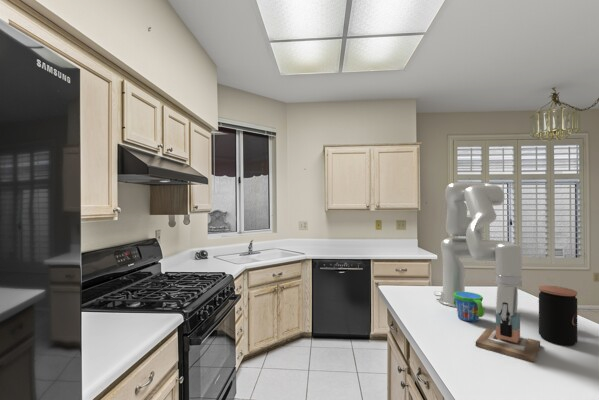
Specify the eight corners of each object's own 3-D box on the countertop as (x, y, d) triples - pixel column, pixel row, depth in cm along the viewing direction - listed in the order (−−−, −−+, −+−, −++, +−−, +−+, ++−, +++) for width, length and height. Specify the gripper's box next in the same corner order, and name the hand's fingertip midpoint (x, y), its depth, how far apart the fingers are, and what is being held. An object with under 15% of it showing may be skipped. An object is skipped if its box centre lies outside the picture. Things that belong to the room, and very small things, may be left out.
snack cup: (446, 312, 139) (446, 289, 139) (469, 312, 139) (469, 289, 139) (466, 326, 123) (466, 300, 123) (492, 326, 124) (492, 300, 124)
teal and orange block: (495, 337, 106) (495, 313, 106) (499, 332, 111) (499, 309, 111) (517, 342, 102) (517, 318, 102) (520, 337, 107) (520, 313, 107)
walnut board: (475, 346, 106) (475, 338, 106) (486, 332, 118) (486, 325, 118) (534, 362, 95) (534, 354, 95) (540, 345, 107) (540, 338, 107)
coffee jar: (580, 349, 104) (580, 295, 104) (540, 341, 110) (540, 290, 110) (574, 338, 113) (574, 288, 113) (537, 331, 119) (537, 283, 119)
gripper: (500, 274, 116) (500, 323, 115) (489, 282, 103) (489, 337, 103) (525, 277, 110) (525, 328, 110) (517, 286, 98) (517, 344, 98)
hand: (507, 332), depth 107 cm, fingers closed on teal and orange block, 6 cm apart
